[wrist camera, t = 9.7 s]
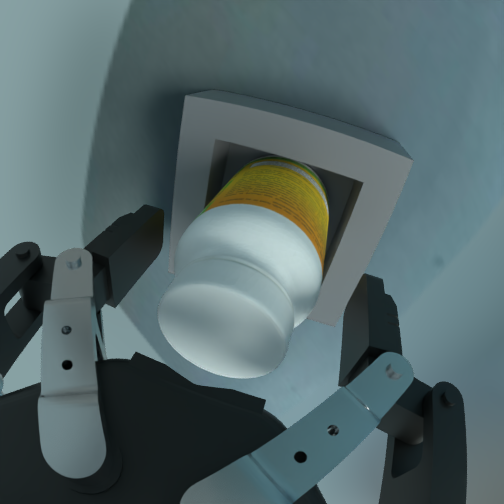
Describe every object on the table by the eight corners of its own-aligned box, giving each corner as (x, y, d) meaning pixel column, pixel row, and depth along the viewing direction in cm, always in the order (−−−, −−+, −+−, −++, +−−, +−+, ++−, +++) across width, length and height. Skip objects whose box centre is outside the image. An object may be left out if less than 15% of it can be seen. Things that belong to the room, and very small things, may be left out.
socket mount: (214, 89, 15) (185, 95, 12) (398, 142, 14) (413, 160, 11) (191, 241, 21) (168, 272, 18) (337, 288, 20) (334, 326, 17)
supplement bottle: (236, 143, 15) (125, 236, 8) (341, 167, 15) (339, 294, 7) (225, 232, 19) (144, 360, 11) (315, 255, 18) (287, 406, 10)
